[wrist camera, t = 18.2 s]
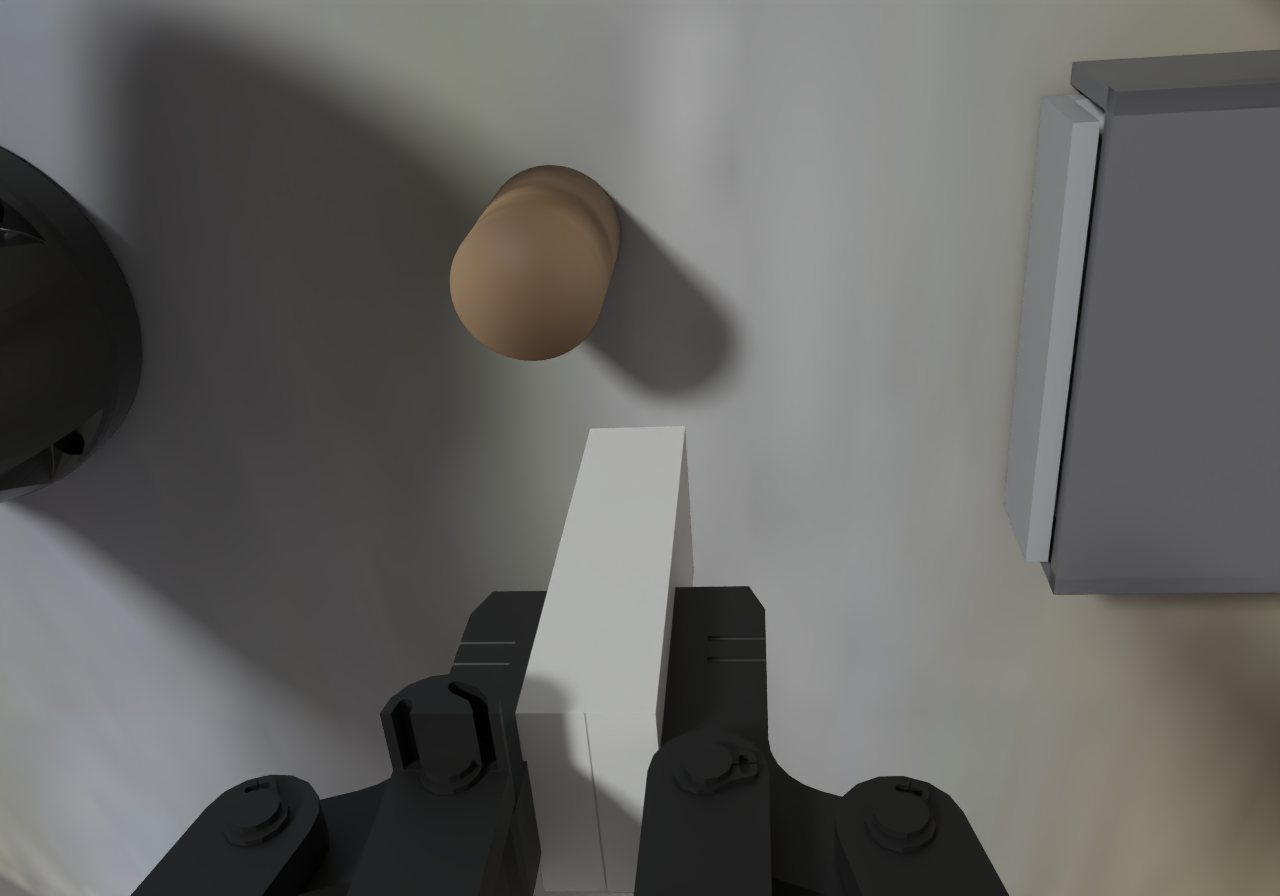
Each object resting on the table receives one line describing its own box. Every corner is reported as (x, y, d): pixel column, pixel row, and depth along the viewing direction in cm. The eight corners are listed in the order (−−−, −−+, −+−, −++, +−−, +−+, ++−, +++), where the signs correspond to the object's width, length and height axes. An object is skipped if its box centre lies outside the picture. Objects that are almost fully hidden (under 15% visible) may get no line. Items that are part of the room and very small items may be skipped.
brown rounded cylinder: (496, 299, 43) (461, 363, 38) (478, 168, 40) (438, 217, 35) (626, 294, 42) (609, 358, 37) (615, 161, 40) (595, 210, 35)
